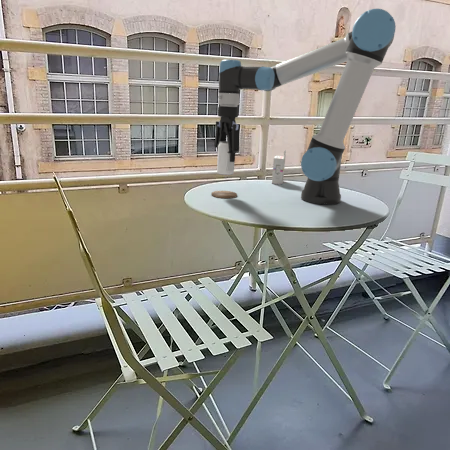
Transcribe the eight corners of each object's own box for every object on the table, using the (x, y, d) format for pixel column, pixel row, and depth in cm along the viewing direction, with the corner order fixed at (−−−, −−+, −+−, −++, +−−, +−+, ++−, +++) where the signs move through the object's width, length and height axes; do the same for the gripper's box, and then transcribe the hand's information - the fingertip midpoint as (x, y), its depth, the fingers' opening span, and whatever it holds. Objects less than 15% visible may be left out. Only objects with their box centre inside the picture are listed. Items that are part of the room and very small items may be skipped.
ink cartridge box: (272, 180, 186) (275, 148, 181) (283, 181, 185) (286, 149, 180) (271, 183, 178) (274, 151, 173) (282, 184, 177) (285, 151, 172)
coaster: (241, 197, 152) (242, 195, 152) (219, 199, 147) (219, 197, 147) (228, 191, 160) (228, 189, 160) (206, 193, 155) (206, 191, 155)
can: (224, 171, 155) (225, 140, 151) (237, 173, 151) (238, 142, 148) (213, 173, 150) (214, 141, 147) (226, 176, 146) (228, 143, 143)
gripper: (206, 104, 149) (204, 164, 156) (234, 106, 133) (230, 174, 140) (223, 104, 153) (221, 164, 160) (252, 107, 137) (248, 172, 144)
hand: (225, 168), depth 150 cm, fingers closed on can, 6 cm apart
